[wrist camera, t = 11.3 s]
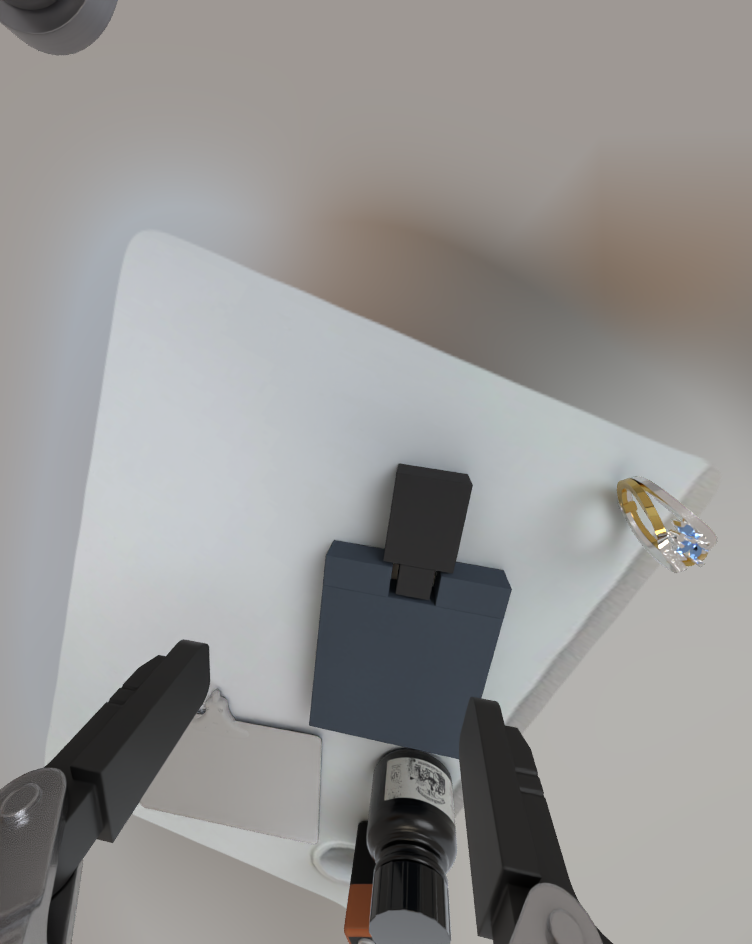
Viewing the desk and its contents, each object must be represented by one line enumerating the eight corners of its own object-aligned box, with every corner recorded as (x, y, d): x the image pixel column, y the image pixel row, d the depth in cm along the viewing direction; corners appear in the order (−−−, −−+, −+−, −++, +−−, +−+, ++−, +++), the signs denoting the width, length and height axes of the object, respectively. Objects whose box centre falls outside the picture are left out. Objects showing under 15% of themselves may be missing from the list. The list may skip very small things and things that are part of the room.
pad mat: (333, 539, 33) (325, 555, 30) (503, 570, 32) (512, 589, 29) (317, 699, 39) (308, 725, 36) (460, 731, 37) (464, 760, 34)
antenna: (324, 706, 39) (321, 716, 38) (318, 838, 46) (316, 850, 45) (119, 669, 41) (110, 678, 40) (144, 801, 48) (137, 811, 47)
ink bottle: (470, 774, 39) (491, 941, 27) (426, 815, 41) (429, 984, 30) (396, 731, 38) (386, 883, 27) (357, 775, 41) (333, 931, 30)
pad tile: (398, 463, 30) (396, 472, 27) (467, 474, 30) (472, 484, 27) (382, 572, 33) (378, 591, 30) (444, 584, 33) (446, 604, 30)
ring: (591, 473, 28) (654, 509, 21) (633, 458, 28) (714, 490, 20) (614, 545, 30) (681, 603, 22) (654, 533, 29) (738, 589, 22)
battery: (372, 857, 45) (359, 988, 35) (357, 820, 43) (339, 946, 34) (405, 856, 44) (400, 990, 34) (391, 818, 42) (382, 947, 33)
